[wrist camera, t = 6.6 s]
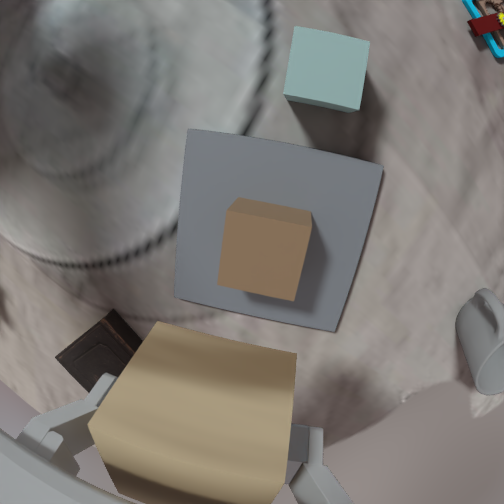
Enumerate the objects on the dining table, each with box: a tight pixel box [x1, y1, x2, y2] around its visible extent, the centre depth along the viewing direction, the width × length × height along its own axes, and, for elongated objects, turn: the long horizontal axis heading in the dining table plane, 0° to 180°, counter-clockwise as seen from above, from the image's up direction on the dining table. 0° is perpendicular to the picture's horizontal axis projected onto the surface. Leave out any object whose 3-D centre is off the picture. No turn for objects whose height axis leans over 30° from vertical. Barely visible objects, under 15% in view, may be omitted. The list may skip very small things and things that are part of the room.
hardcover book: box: [55, 309, 143, 393], centre depth 39 cm, size 16×23×2 cm
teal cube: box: [283, 26, 370, 113], centre depth 20 cm, size 5×5×5 cm
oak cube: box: [87, 321, 297, 504], centre depth 9 cm, size 5×5×5 cm
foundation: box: [174, 129, 384, 332], centre depth 25 cm, size 16×16×5 cm
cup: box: [456, 288, 504, 395], centre depth 23 cm, size 8×10×8 cm
